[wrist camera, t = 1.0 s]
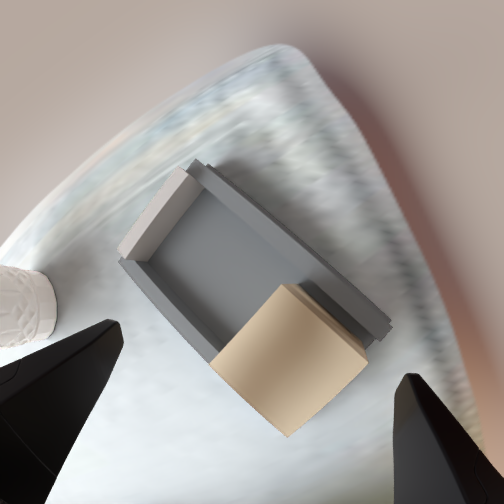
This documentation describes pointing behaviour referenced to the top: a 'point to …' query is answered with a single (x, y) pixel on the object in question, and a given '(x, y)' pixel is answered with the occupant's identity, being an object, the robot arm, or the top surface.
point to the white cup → (25, 307)
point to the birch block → (290, 358)
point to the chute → (228, 262)
